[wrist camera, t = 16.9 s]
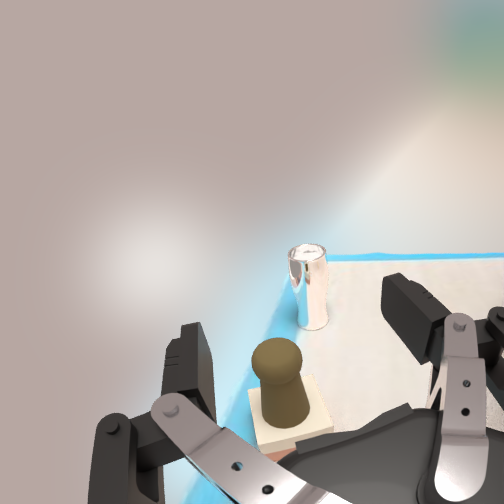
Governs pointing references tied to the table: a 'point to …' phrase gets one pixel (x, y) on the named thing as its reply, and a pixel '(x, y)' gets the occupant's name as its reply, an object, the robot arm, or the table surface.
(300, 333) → the table surface
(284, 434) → the brick base
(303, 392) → the cork
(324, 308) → the beer glass
